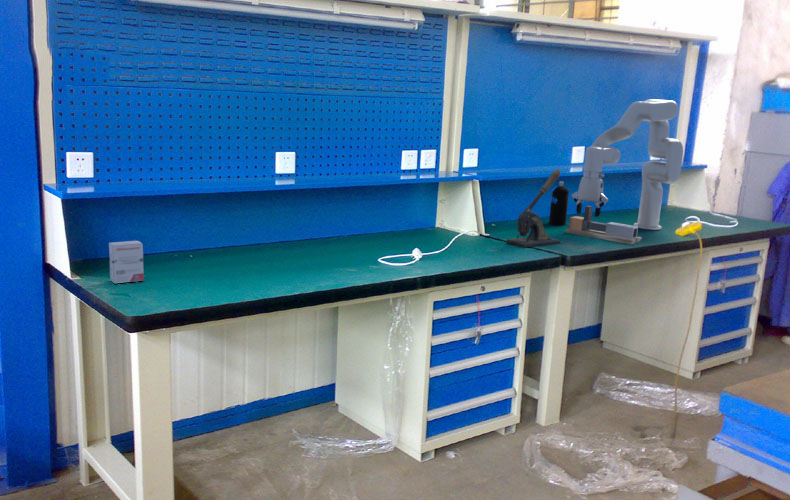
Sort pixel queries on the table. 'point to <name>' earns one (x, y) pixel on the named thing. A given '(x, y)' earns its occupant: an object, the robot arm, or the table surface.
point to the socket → (576, 223)
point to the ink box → (126, 261)
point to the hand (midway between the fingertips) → (587, 214)
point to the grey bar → (588, 222)
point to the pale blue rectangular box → (621, 230)
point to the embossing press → (534, 221)
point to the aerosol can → (559, 205)
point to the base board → (602, 236)
